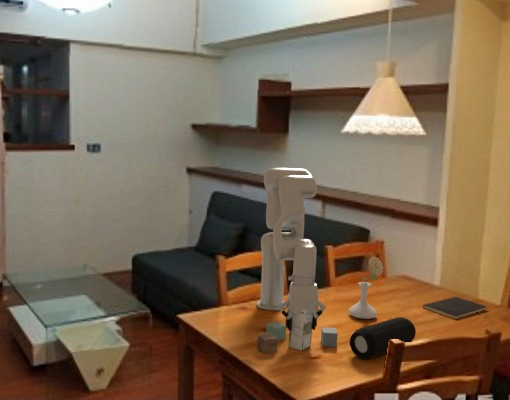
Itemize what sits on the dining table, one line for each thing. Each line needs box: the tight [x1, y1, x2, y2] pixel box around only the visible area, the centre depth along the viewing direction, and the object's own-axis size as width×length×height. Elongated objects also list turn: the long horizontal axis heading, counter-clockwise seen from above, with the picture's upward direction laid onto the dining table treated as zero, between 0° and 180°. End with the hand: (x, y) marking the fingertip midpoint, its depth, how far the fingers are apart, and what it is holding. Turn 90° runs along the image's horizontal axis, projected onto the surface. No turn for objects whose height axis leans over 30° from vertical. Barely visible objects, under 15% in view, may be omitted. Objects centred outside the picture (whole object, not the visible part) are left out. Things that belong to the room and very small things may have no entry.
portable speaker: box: [349, 316, 417, 360], centre depth 183 cm, size 26×10×10 cm, turn 128°
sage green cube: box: [265, 321, 287, 342], centre depth 190 cm, size 5×5×5 cm
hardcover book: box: [422, 296, 488, 320], centre depth 231 cm, size 16×23×2 cm
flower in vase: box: [348, 256, 384, 320], centre depth 215 cm, size 13×11×25 cm
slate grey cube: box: [320, 327, 338, 348], centre depth 188 cm, size 5×5×5 cm
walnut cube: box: [256, 332, 278, 355], centre depth 180 cm, size 5×5×5 cm
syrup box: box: [288, 310, 313, 351], centre depth 183 cm, size 6×6×14 cm
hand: (300, 328), depth 183 cm, fingers closed on syrup box, 8 cm apart
